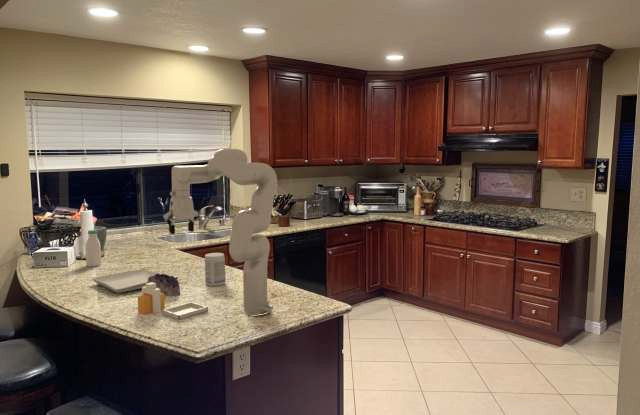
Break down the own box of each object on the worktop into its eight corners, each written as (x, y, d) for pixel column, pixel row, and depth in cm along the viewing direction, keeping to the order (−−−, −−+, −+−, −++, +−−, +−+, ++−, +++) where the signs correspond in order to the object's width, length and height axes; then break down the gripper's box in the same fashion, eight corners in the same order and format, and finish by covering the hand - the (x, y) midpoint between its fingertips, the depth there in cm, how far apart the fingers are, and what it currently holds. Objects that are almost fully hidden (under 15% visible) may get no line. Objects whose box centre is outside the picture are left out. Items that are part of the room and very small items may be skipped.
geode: (190, 295, 220) (188, 274, 218) (167, 304, 212) (165, 282, 210) (166, 285, 234) (163, 265, 231) (144, 293, 225) (141, 273, 223)
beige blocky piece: (160, 311, 193) (160, 284, 191) (154, 313, 190) (153, 286, 189) (148, 307, 198) (148, 281, 197) (142, 309, 196) (141, 282, 195)
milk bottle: (104, 265, 277) (102, 230, 275) (91, 267, 271) (90, 231, 269) (96, 263, 281) (94, 229, 279) (83, 265, 275) (81, 230, 273)
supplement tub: (226, 281, 244) (226, 252, 242) (223, 286, 235) (223, 256, 233) (207, 281, 244) (206, 252, 242) (203, 286, 234) (202, 256, 233)
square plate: (90, 285, 236) (90, 277, 236) (144, 275, 256) (144, 268, 256) (116, 296, 218) (115, 288, 217) (171, 285, 238) (171, 277, 237)
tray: (208, 311, 194) (208, 306, 194) (178, 320, 183) (178, 315, 183) (191, 306, 200) (191, 301, 200) (162, 314, 190) (162, 309, 190)
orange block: (164, 309, 196) (164, 293, 196) (144, 315, 189) (144, 298, 189) (158, 307, 199) (157, 291, 198) (138, 312, 192) (137, 296, 191)
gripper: (168, 195, 206) (169, 235, 208) (202, 193, 219) (203, 231, 221) (158, 194, 211) (159, 233, 213) (192, 192, 224) (193, 229, 226)
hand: (181, 232), depth 217 cm, fingers open, 9 cm apart
